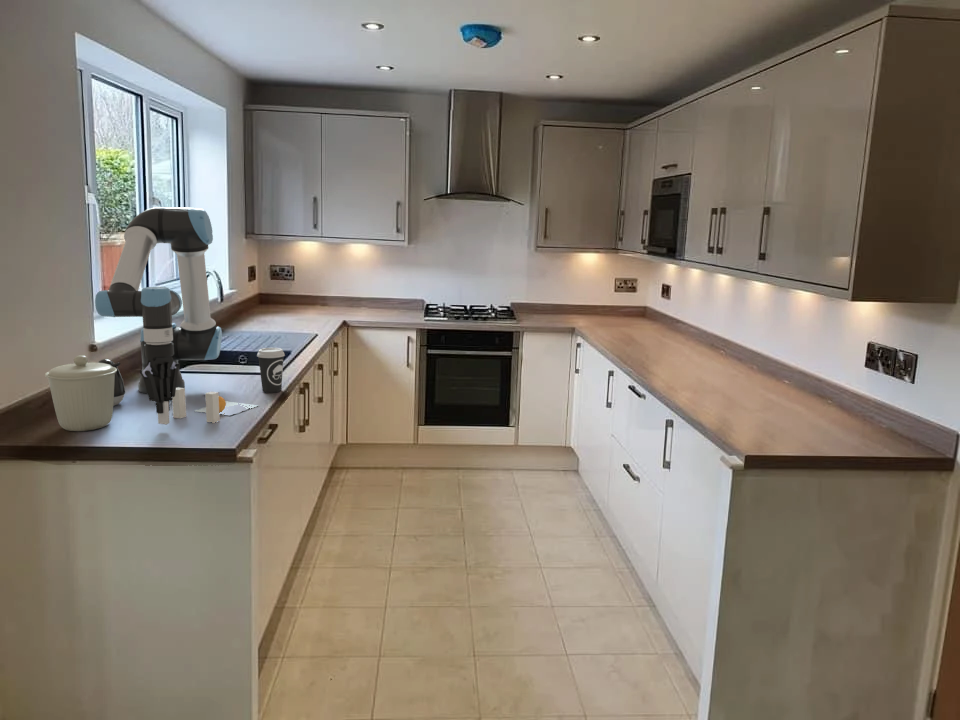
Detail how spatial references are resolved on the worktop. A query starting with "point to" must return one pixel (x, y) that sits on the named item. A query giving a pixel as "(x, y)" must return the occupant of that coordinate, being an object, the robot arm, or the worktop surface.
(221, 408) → the ball
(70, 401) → the canister
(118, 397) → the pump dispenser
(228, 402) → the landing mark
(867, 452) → the worktop surface
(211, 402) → the post
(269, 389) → the coffee cup
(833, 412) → the worktop surface
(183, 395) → the post
